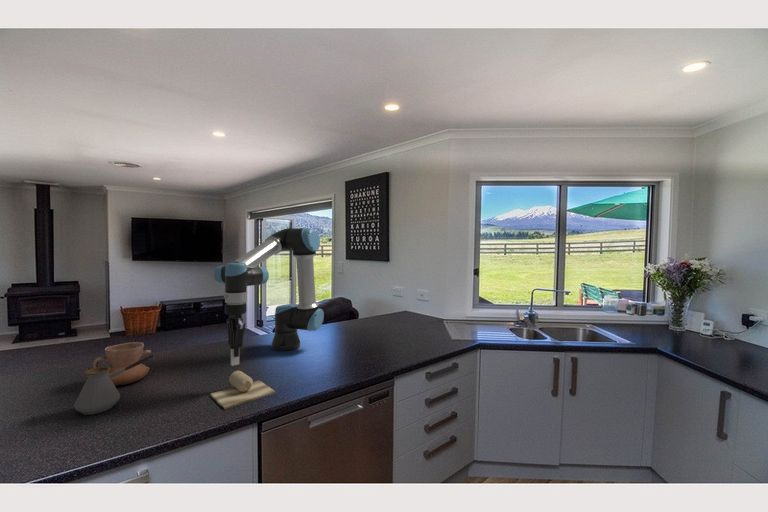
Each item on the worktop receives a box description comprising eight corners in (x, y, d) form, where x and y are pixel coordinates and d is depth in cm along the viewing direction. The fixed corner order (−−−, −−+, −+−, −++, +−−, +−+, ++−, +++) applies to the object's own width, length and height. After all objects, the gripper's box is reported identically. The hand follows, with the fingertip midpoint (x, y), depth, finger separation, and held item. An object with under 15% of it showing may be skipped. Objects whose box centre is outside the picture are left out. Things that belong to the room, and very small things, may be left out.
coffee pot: (72, 421, 99) (72, 372, 99) (74, 407, 108) (74, 362, 108) (157, 401, 113) (157, 358, 113) (153, 390, 122) (153, 350, 122)
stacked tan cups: (152, 371, 140) (152, 338, 140) (150, 383, 128) (149, 347, 128) (97, 380, 130) (96, 345, 130) (89, 394, 118) (88, 355, 118)
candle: (226, 383, 124) (236, 391, 117) (233, 368, 125) (244, 376, 118) (238, 386, 127) (249, 394, 120) (246, 372, 129) (257, 380, 122)
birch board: (210, 395, 118) (210, 393, 118) (259, 382, 131) (259, 380, 131) (224, 409, 108) (224, 407, 108) (275, 393, 121) (275, 391, 121)
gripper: (219, 301, 127) (218, 362, 127) (231, 306, 118) (231, 371, 118) (239, 300, 132) (238, 358, 132) (252, 304, 123) (251, 366, 123)
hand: (234, 364), depth 125 cm, fingers closed
